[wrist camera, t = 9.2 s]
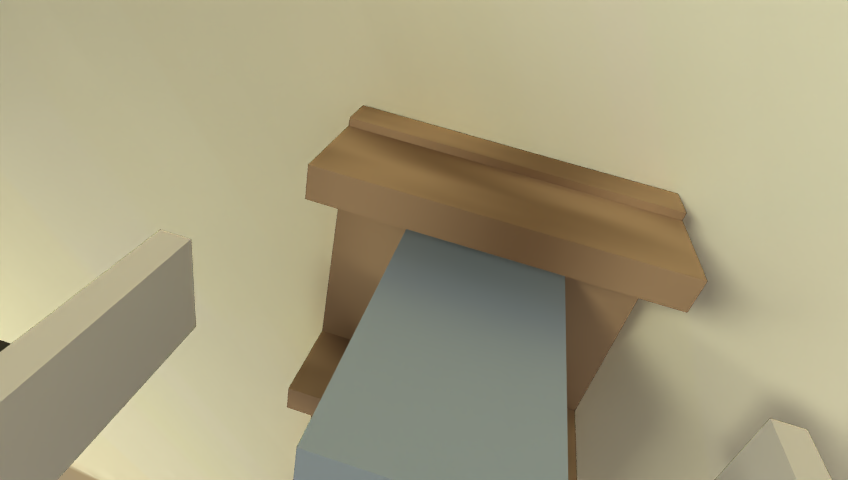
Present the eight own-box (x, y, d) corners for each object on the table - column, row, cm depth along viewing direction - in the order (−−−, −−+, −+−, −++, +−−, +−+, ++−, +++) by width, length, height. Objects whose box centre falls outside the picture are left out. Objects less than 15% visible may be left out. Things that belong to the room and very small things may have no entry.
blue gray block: (564, 262, 13) (569, 538, 7) (511, 384, 16) (483, 661, 10) (411, 217, 13) (296, 446, 7) (384, 344, 16) (281, 590, 10)
